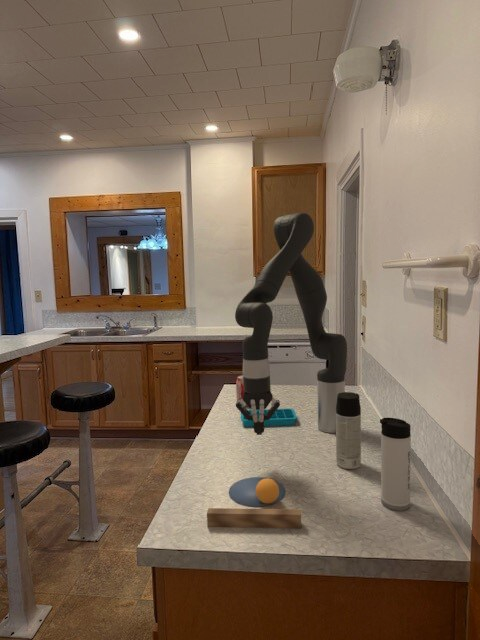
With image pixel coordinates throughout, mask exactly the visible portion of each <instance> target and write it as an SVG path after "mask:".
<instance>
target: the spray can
mask: <svg viewBox="0 0 480 640" xmlns="http://www.w3.org/2000/svg"><path fill="white" fill-rule="evenodd" d="M361 409H362V408H361V402H360V394H358V393H355V392H349V391H347V392H346V391H345V392H342V393H339V394H338V396H337V404H336V433H335V438H336V439H335V440H336V441H335V443H336V445H335V446H336V449H335V450H336V454H335V457H336V458H335V459H336V461H335V462H336V465H337V466H338V467H339V468H340V469H343V470H357V469H358V468H360V467H361V465H362V460H361V459H362V417H361V415H362V413H361Z"/></svg>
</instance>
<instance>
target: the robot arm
mask: <svg viewBox="0 0 480 640" xmlns="http://www.w3.org/2000/svg"><path fill="white" fill-rule="evenodd" d="M314 232H315V225H314V220H313V218H312V217H311V216H310V214H308V213H306V212H298V213H290V214H285V215H282V216H278V217H277V218H276V219H275V220H274V223H273V233H274V234H273V235H274V237H275V238H274V239H275V241H276V243H277V246H278V248H279V251H278V252H277V253H276V254H275V255H274V256H273V257H272V258H271V259H270V260H269V261H268V262H267V263H266V264H265V265H264V267H263V268H262V269H261V271H260V273H259V275H258V277H257V278H256V280H255V283H254V286H253V287H252V288H251V289H250V290H249V291H248V292H247V293H246V295H244V296H243V298H242V299H241V300H240V301H239V303H238V304H237V307H236V309H235V313H234V317H235V322H236V323H237V325H238V326H239V327H242V328H249V329H252V330H253V332H252V335H250V336H246V337H244V338H243V340H242V344H241V345H242V347H241V349H242V372H241V373H242V375H243V385H244V394H243V396H242V399H241V400H240V401H237V400H236V403H235V407H236V408H237V410H239V413H240V414H241V413H242V414H243V415H244V416H245V418H246V419H247V420H251V421H253V422H254V426H253V432H254V433H255V434H256V435H257V436H260V435H263V433H264V432H265V426H264V421H265V420H269V419H270V418H271V417H272V415H273V414H274V413H275V411H276V410H277V409H279V407H280V406H281V401H280V400H279V399H276V398H275V397H274V396H273V393H272V391H271V389H272V388H271V370H270V369H271V368H270V367H271V366H270V360H269V346H268V345H269V344H268V343H269V339H270V335H271V329H272V324H273V318H274V316H273V311H272V309H271V307H270V306H269V304H268V303H272V302H273V301H275V300H276V298H277V296H278V294H279V292H280V290H281V288H282V285H283V283H284V281H285V279H286V278H287V276H288V273H289V275H290V278H291V280H292V281H291V282H292V283H293V284H292V285H293V287H294V291H295V295H296V297H297V300H298V304H299V306H300V308H301V311H302V315H303V318H304V322H305V326H306V330H307V334H308V340H309V345H310V348H311V352H312V353H313V355H314V357H316V358H317V359H319V360H325V361H328V367H327V368H324V369H319V370H318V371H317V373H316V382H317V384H316V387H317V390H316V391H317V395H316V396H317V429H318V430H319V431H321V432H324V433H329V434H330V433H331V434H336V404H337V396H338V394H339V393H342V392H346V391H345V390H346V389H345V387H346V384H345V380H346V379H345V377H346V372H347V361H348V360H347V357H348V343H347V339H346V337H345V336H344V335H343V334H340V333H333V332H332V333H331V332H326V330H325V328H324V324H323V315H324V312H325V309H326V305H327V301H328V295H327V292H326V288H325V284H324V281H323V279H322V276H321V274H319V273H318V271H317V270H316V269H315V267H313V266H312V265H311V264H310V263H309V262H308V260H306V258H305V257H304V256H303V251H304V250H305V249H306V247H307V246H308V245H309V243H310V241H311V239H312V238H313V236H314ZM244 402H245V403H246V404H247V406H246V407H244V406H245V404H244ZM269 404H270V405H271V406H270V407H269V408H268V409H269V411H268V412H267V413H266V414H265V415H264V409H267V407H268V406H269ZM247 407H248V408H249V409H247ZM248 410H252V414H251V413H250V412H249V411H248ZM257 410H260V411H259V420H258V414H257Z"/></svg>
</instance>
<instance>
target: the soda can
mask: <svg viewBox="0 0 480 640" xmlns="http://www.w3.org/2000/svg"><path fill="white" fill-rule="evenodd" d="M236 378H237V379H236V384H235V385H236V386H235V390H236V392H235V393H236V402H237V401H240V400H241V399H242V396H243V394H244V385H243V374H242V375H238V376H237V377H236ZM244 404H245V406H244V407H245V408H247V407H248V406H247V404H246V403H245V402H244Z"/></svg>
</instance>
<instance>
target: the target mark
mask: <svg viewBox="0 0 480 640" xmlns="http://www.w3.org/2000/svg"><path fill="white" fill-rule="evenodd" d="M266 478H268V477H263V476H262V477H261V476H257V477H256V476H253V477H251V476H250V477H247V478H242V479H240V480H237V481H236V482H234V483H233V484H232V485H230V487H229V489H228V495H229V498H230V499H231V500H232V501H233V502H235V503H237V504H239V505H242V506H244V507H245V506H246V507H250V508H251V507H255V508H257V507H258V508H260V507H267V506H271V505H274V504H277V503H278V502H280V501H282V499H284V497H285V496H286V495H285V494H286V488H285V487H284V485H283V484H282V483H281V482H279V481H278V480H275V479H274V478H273V479H272V478H268V479H272V480H274V481H275V482H276V483H277V485H278V487H279V495H278V498H277V499H276V500H275V501H274V502H272V503H269V504H266V503H263V502H261V501H260V500H259V499H258V497H257V495H256V486H257V484H258V483H259V482H260V481H261V480H262V479H266Z"/></svg>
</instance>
